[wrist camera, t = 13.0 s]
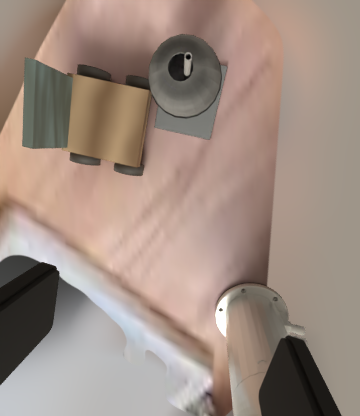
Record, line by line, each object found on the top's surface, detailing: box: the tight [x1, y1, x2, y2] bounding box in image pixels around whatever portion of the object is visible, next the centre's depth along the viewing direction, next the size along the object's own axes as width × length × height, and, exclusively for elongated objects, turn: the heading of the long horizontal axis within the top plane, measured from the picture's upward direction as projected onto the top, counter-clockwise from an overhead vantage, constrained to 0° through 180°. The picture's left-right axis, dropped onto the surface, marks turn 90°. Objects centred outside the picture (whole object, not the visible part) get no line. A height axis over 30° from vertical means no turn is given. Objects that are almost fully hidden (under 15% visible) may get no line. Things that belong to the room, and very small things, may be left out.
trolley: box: [22, 58, 152, 176], centre depth 31 cm, size 12×13×12 cm
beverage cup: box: [149, 34, 222, 119], centre depth 25 cm, size 7×7×20 cm
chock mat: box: [154, 65, 227, 140], centre depth 35 cm, size 9×10×1 cm
